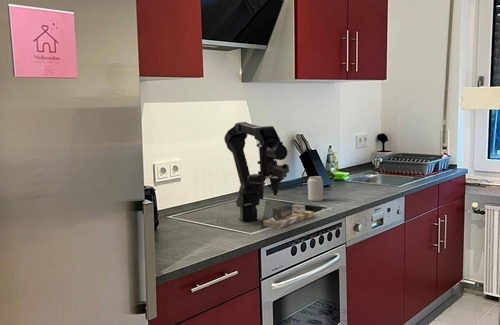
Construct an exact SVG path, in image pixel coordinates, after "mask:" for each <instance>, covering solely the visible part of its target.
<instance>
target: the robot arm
mask: <svg viewBox="0 0 500 325" xmlns="http://www.w3.org/2000/svg"><path fill="white" fill-rule="evenodd" d="M248 135H249V136H253V137H254V139H255V140H256V141H258V143H256V148H257V147H258V149H259V150H258V152H259V153H258V154H259V160H258V161H257V164H258V165H259V171H257V173H253V174H250V169H249V165H248V161H247V158H246V154H245V151H244V150H245V145H246V139H247V138H248ZM223 140H224V143H225V145H226V147H227V149H228V150H229V151H230V153H231V154H232V156H233V160H234V164H235V168H236V172H237V176H238V180H239V184H240V185H239V186H240V187H239V189H238V197H237V198H236V200H235V204H236V207H238V208H239V215H240V216H239V218H238V220H239V221H241V222H243V223H249V222H255V221H259V218H258V208H257V206H259V205H260V200H264V187H265V186H266V183H267V181H266V180H267V179H269V181H270V185H271V190H272V193H273V195H274V196H277V195H278V191H279V188H280V184H281V182H283V181H284V180H285V178H286V177H287V176H288V174H289V173H290V167H289V164H287V163H285V164H284V163H283V164H280V165H279V164H278V161H283V160H285V159H286V158H287V156H288V154H289V153H288V151H289V150H288V148H287V147H286V146H285V145H284V144H283V141H281V138H280V136H279V135H278V133H277V131H276V129H275V127H274V126H273V125H269V126H267V125H265V126H260V125H256V124H251V123H249V122H247V121H241V122H236V123H235V124H234V125H233V126H232V127H231V128H229V129H228V130H227V132H226V134H224V138H223Z"/></svg>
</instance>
